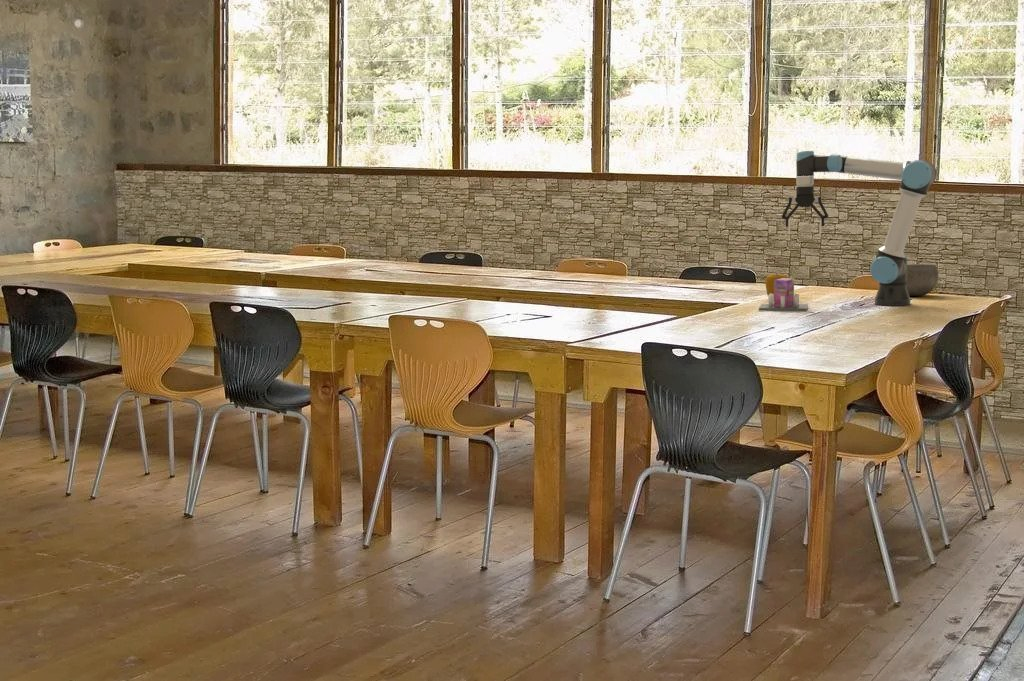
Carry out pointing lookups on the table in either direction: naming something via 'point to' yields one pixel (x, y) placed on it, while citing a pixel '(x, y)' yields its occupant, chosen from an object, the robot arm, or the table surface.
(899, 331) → the table surface
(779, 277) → the apple
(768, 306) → the pin tray
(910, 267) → the bowl
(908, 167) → the robot arm
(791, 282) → the box
